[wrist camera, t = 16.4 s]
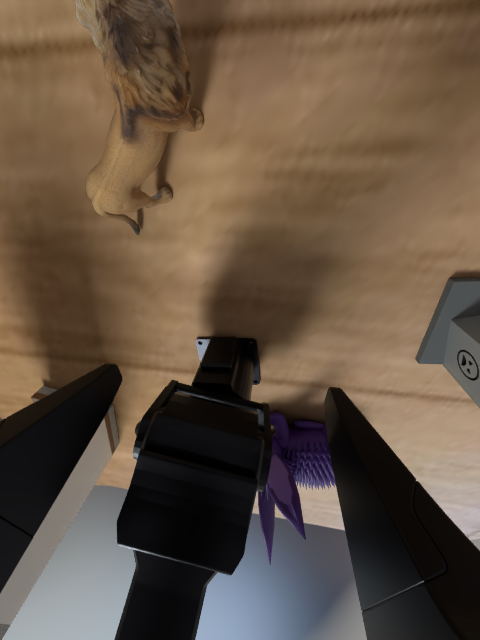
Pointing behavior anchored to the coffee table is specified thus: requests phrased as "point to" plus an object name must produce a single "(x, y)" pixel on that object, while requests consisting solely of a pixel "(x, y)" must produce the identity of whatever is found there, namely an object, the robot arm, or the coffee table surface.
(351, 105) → the coffee table surface
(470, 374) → the dice cube
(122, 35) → the lion figurine
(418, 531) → the robot arm
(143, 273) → the coffee table surface
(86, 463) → the white square tower
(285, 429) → the creature
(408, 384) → the coffee table surface
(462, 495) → the coffee table surface
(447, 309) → the mat
